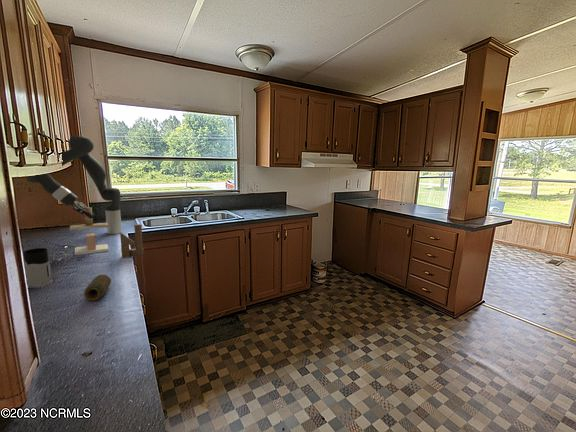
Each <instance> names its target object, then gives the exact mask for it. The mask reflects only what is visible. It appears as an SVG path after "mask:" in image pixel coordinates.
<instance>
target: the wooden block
mask: <svg viewBox="0 0 576 432" xmlns="http://www.w3.org/2000/svg"><path fill="white" fill-rule="evenodd" d="M142 226H143V225H142V224H141V223H135V224H134V240H135V241H134V240H133V239H131V238H130V237H128V236H127V235H126V234H125V233H123V232H120V233H119V234H120V235H119V236H120V247H121V249H120V251H121V252H120V253H121V257H122V258H123V259H125V258H130V257H137V256H138V257H139V256H144V255H145V251H144V250H145V249H144V246H143V227H142ZM131 245H135V248H130V246H131Z"/></svg>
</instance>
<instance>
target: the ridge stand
mask: <svg viewBox="0 0 576 432" xmlns="http://www.w3.org/2000/svg"><path fill="white" fill-rule="evenodd" d="M103 252H109V245H108V243H105V244H97V243H96V234H95V232H93V233H86V246H77V247H75V248H74V256H78V255H79V256H80V255H87V254H94V253H95V254H96V253H103Z"/></svg>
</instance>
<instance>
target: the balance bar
mask: <svg viewBox="0 0 576 432" xmlns="http://www.w3.org/2000/svg"><path fill="white" fill-rule="evenodd" d="M85 209H86V210H87V211H88V212H89V213H91V214H92V213H93V207H88V208H85ZM84 219H85V221H84V222H85V223H84V224H83V223H82V224H71V225H69V230H82V229H84V230H85V229H98V228H99V229H100V228H107V227H108V223H106V222H103V223H102V222H100V223H94V217H93V218H91V219H90V218H89V217H87V216H86V215H84Z"/></svg>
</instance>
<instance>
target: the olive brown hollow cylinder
mask: <svg viewBox="0 0 576 432" xmlns="http://www.w3.org/2000/svg"><path fill="white" fill-rule="evenodd" d="M111 282H112V278H111V277H109V276H108V274H99V275H97V276H95V277H94V278H93V279H92V280H91V282H89V283H88V285H87V286H86V288H85V289H84V297H85V299H86V300H88V301H94V302H95V301H97V300H99V299H101V298H102V296H104V294H105V293H106V292H107V290H108V289H109V286H110V285H111Z"/></svg>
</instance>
